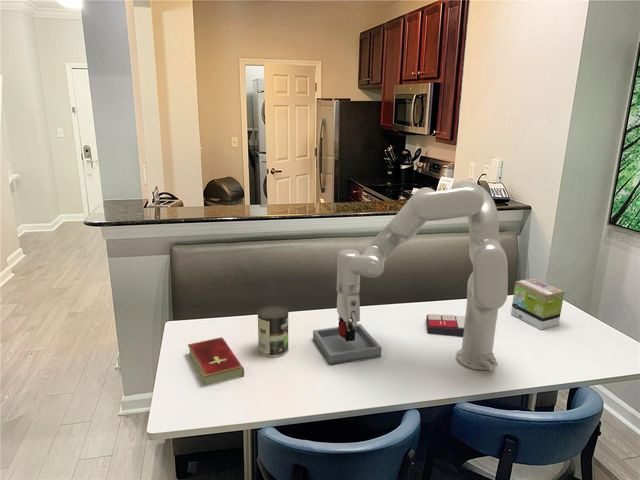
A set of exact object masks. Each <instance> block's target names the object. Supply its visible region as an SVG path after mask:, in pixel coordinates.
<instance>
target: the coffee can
mask: <svg viewBox="0 0 640 480" xmlns="http://www.w3.org/2000/svg"><path fill="white" fill-rule="evenodd" d="M256 312H257V313H256V314H257V335H258V336H257V338H258V339H257V340H258V341H257V342H258V353H259V354H260V355H261V356H263V357H267V358H279V357H283V356H284V355H286V354H287V353H288V352H289V309H288V308H287V307H284V306H282V305H267V306H263V307H261V308H259V309H258V310H257V311H256Z"/></svg>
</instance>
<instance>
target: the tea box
mask: <svg viewBox="0 0 640 480" xmlns="http://www.w3.org/2000/svg"><path fill="white" fill-rule="evenodd" d="M564 295H565V290H562V289H560V288H558V287H556V286H553V285H550V284H548V283H546V282H543V281H541V280H539V279H537V278H535V277H532V278H528V279H527V278H526V279H522V280H516V281H515V283H514V290H513V296H512V304H511V309H510V311H511V312H510V315H512V316H514V317H516V318H518V319H520V320H521V321H523V322H526V323H527V324H529V325H531V326H532V327H534V328H537V329H538V330H540V331H543V330H546V329H550V328H553V327H557V326H559V323H560V318H561V314H562V313H561V312H562V307H563V302H564Z"/></svg>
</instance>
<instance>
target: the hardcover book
mask: <svg viewBox="0 0 640 480" xmlns="http://www.w3.org/2000/svg"><path fill="white" fill-rule="evenodd" d="M187 347H188V349H189V356H190V357H191V360H193V361H192V362H193V363H194V365H195V367H196V368H197V371H198V373H199V375H200V377H201V379H202V381H203V382H204V384H205V386H210V385H215V384H217V383H222V382H225V381H229V380H234V379H237V378H241V377H242V378H244V376H245V369H244V366H243V365H242V364H241V362H240V361H239V359H238V358H237V356H236V355H235V353H234V352H233V350H232V349H231V348H230V346H229V345H228V344H227V342H226V340H225V339H224V338H223V336H220V337H215V338H210V339H207V340H202V341H199V342H192V343H188V344H187Z"/></svg>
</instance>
